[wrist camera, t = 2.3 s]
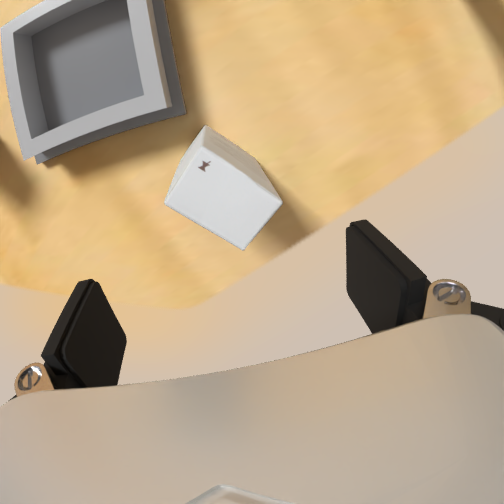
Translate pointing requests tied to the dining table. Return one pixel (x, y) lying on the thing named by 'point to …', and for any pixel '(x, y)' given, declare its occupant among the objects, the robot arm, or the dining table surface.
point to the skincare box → (222, 189)
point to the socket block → (88, 72)
